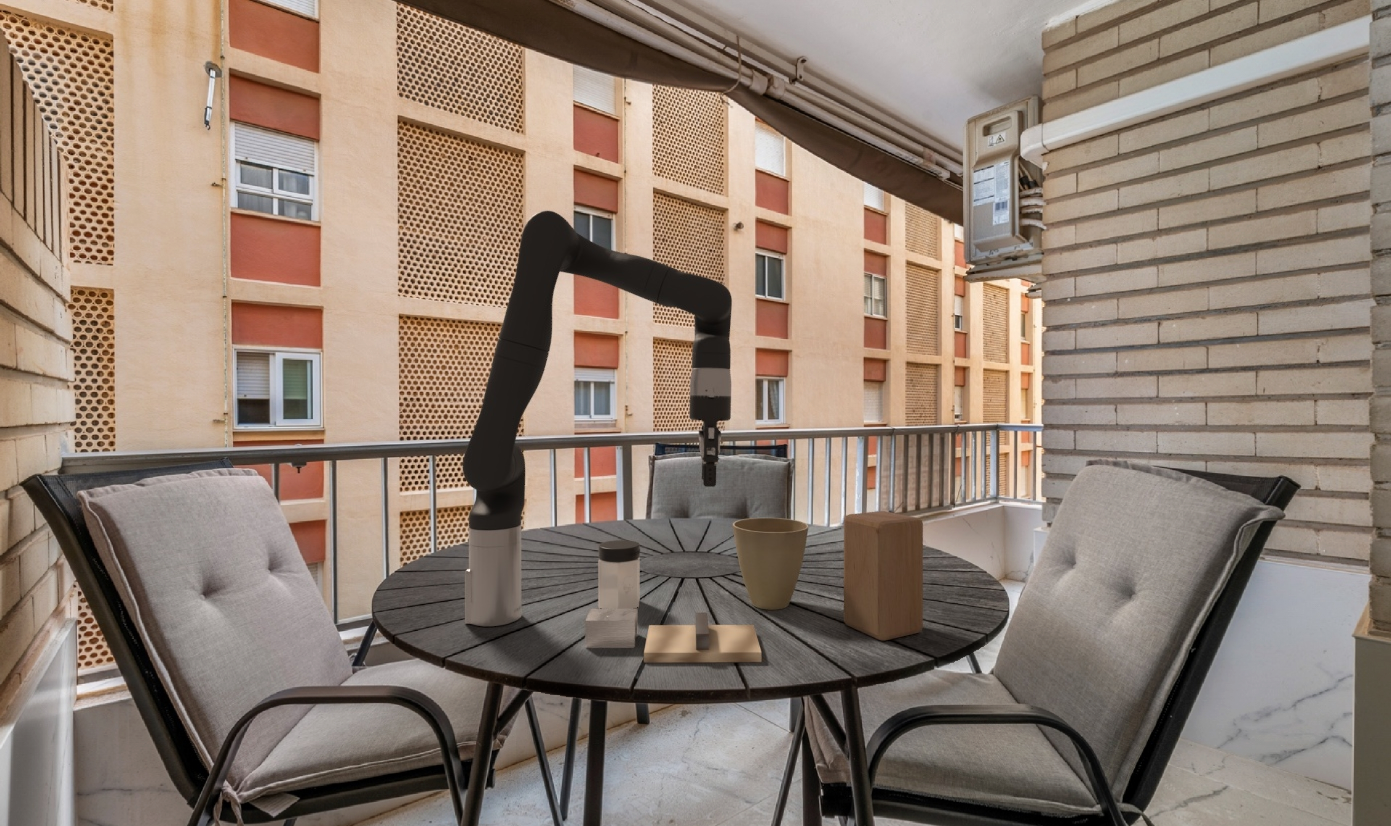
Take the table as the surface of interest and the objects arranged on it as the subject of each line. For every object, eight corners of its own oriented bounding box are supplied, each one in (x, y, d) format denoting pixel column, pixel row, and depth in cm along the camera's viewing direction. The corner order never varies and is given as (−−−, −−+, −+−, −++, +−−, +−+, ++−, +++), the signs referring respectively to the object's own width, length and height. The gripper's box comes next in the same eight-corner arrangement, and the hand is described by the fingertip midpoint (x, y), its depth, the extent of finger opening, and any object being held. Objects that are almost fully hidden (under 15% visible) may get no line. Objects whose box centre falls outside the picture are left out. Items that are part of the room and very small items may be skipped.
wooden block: (882, 643, 102) (882, 523, 102) (841, 624, 111) (841, 513, 110) (925, 633, 106) (925, 518, 106) (882, 616, 115) (883, 509, 115)
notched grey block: (634, 648, 100) (634, 620, 100) (585, 648, 100) (585, 620, 100) (637, 634, 106) (637, 608, 106) (591, 634, 106) (591, 608, 106)
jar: (607, 614, 116) (607, 551, 116) (590, 603, 123) (590, 543, 123) (649, 606, 121) (649, 545, 121) (630, 595, 128) (630, 538, 128)
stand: (643, 662, 94) (643, 636, 94) (649, 633, 106) (649, 610, 106) (761, 662, 94) (761, 636, 94) (753, 633, 106) (753, 610, 106)
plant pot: (717, 604, 122) (717, 524, 122) (762, 588, 133) (762, 515, 133) (779, 622, 112) (779, 535, 112) (822, 603, 123) (822, 523, 123)
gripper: (689, 394, 119) (687, 478, 119) (690, 392, 105) (688, 488, 105) (728, 395, 119) (726, 479, 119) (734, 393, 105) (732, 488, 105)
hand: (708, 483), depth 112 cm, fingers open, 8 cm apart
